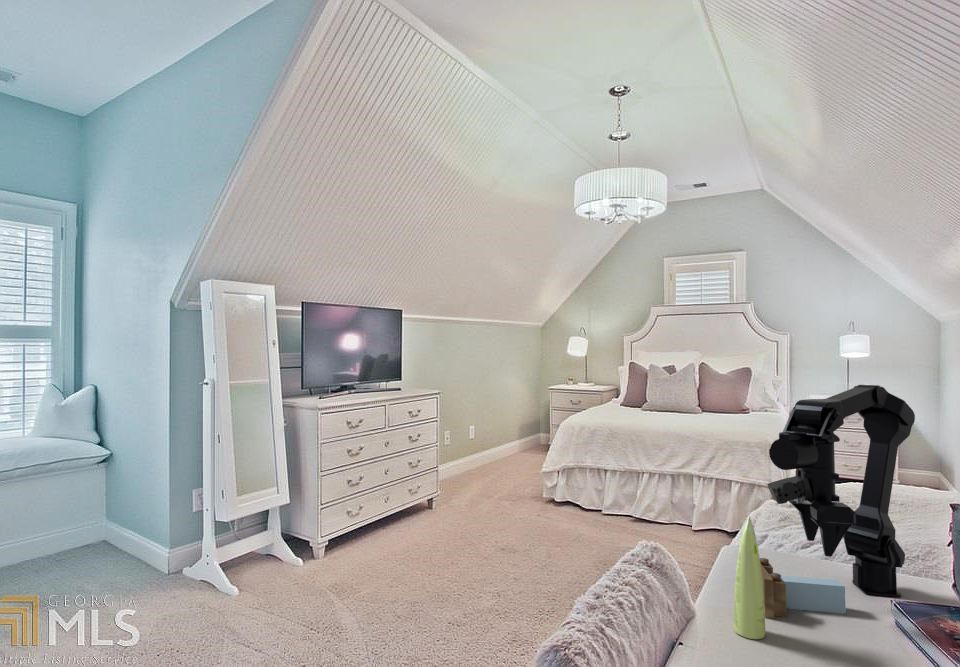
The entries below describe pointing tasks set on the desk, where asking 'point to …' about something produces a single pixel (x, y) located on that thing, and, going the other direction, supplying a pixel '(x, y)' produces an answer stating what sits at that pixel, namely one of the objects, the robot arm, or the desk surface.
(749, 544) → the tube
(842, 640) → the desk surface
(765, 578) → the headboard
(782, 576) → the light blue rectangular block
